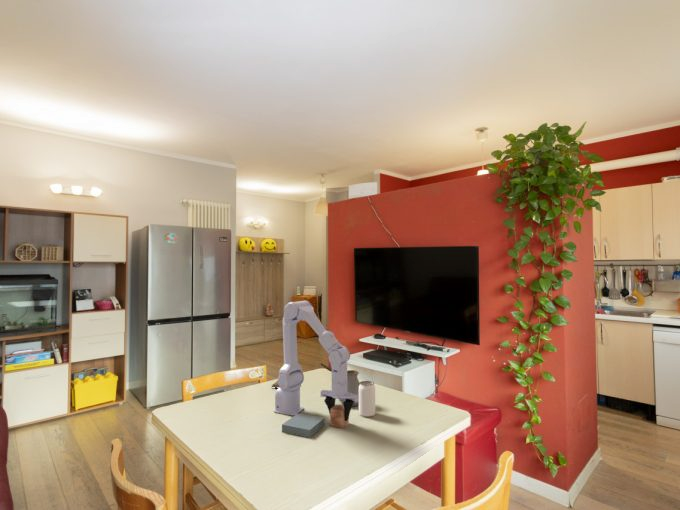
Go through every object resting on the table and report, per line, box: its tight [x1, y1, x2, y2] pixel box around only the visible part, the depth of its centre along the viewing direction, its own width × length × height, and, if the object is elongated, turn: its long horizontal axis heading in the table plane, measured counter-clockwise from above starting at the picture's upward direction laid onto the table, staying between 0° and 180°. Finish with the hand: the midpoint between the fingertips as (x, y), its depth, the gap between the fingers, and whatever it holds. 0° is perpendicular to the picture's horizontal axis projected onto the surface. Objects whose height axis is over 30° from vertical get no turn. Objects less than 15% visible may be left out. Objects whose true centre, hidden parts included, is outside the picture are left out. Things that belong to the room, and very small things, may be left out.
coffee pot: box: [318, 363, 360, 407], centre depth 157 cm, size 21×12×15 cm, turn 63°
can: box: [358, 380, 376, 418], centre depth 143 cm, size 6×6×12 cm
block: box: [329, 403, 350, 429], centre depth 133 cm, size 5×5×6 cm
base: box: [281, 412, 325, 438], centre depth 130 cm, size 11×11×2 cm
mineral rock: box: [271, 380, 279, 388], centre depth 178 cm, size 11×4×8 cm
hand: (339, 418), depth 133 cm, fingers closed on block, 5 cm apart
